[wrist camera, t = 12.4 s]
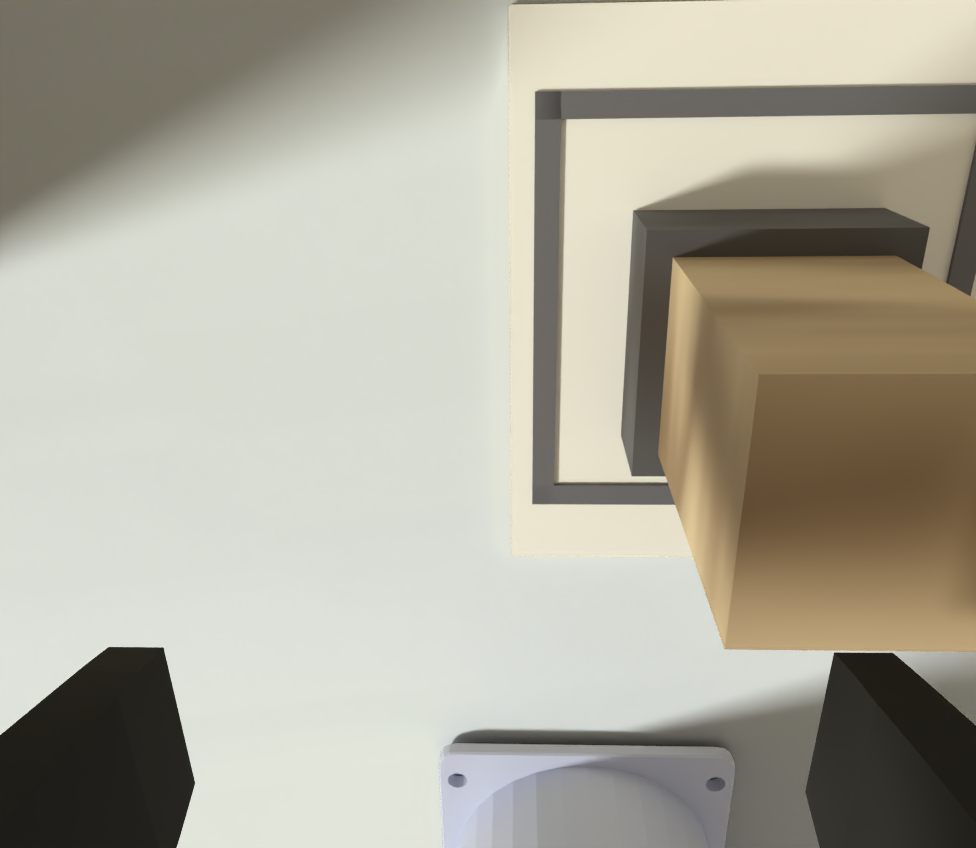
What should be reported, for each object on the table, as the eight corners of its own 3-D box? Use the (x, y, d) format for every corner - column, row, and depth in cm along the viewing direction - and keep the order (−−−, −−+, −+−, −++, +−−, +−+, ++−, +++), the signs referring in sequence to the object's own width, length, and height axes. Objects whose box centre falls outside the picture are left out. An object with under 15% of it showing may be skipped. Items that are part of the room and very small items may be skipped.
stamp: (845, 435, 19) (1053, 681, 11) (621, 435, 19) (685, 678, 12) (885, 207, 17) (1170, 331, 9) (633, 210, 17) (720, 333, 10)
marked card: (926, 553, 20) (931, 560, 20) (511, 551, 20) (511, 558, 20) (1057, -6, 15) (1067, -7, 15) (508, 5, 16) (508, 4, 15)
